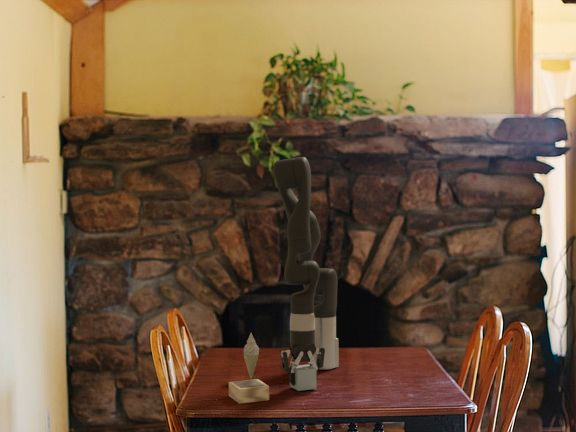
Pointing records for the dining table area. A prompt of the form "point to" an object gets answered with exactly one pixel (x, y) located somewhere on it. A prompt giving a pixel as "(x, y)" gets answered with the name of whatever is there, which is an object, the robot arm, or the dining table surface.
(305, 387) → the cube
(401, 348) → the dining table surface
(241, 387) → the base
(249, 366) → the ice cream cone
